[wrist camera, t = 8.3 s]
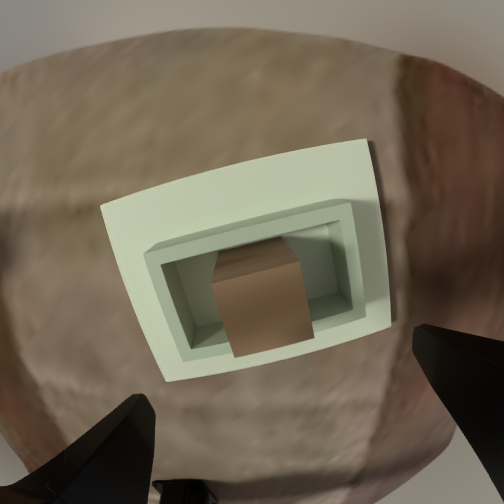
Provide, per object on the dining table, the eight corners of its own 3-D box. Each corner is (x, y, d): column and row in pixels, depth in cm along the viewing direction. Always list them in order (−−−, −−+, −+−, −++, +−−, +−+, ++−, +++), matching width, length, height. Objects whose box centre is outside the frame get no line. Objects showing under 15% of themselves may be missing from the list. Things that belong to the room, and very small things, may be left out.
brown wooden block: (293, 293, 20) (314, 338, 14) (235, 308, 20) (234, 358, 14) (280, 236, 19) (299, 261, 13) (218, 251, 19) (210, 283, 13)
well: (386, 322, 22) (409, 345, 18) (168, 375, 22) (158, 406, 18) (361, 139, 18) (387, 132, 14) (104, 204, 18) (78, 210, 15)
